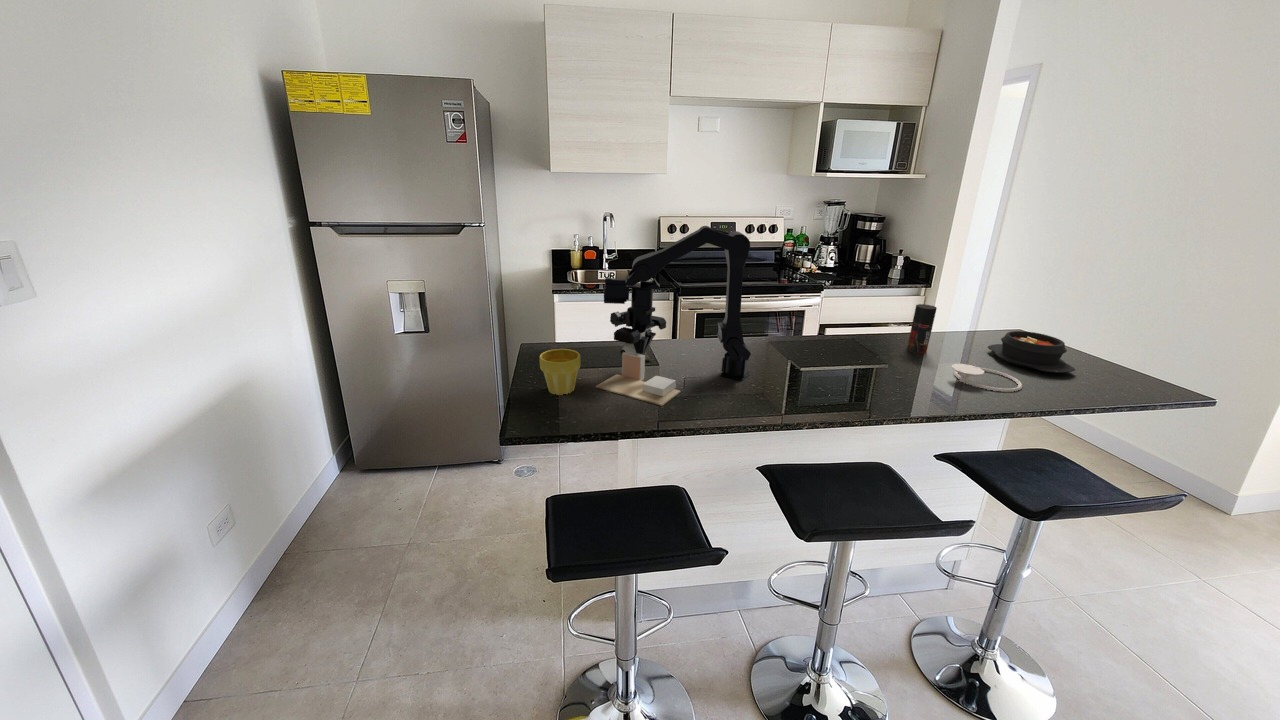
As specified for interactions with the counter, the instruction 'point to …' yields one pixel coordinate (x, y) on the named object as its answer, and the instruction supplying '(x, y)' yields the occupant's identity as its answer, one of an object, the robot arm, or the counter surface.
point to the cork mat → (634, 389)
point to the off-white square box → (659, 385)
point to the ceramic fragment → (632, 349)
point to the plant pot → (560, 369)
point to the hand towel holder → (977, 371)
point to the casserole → (1033, 351)
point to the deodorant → (921, 328)
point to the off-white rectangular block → (633, 365)
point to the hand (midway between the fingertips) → (640, 358)
